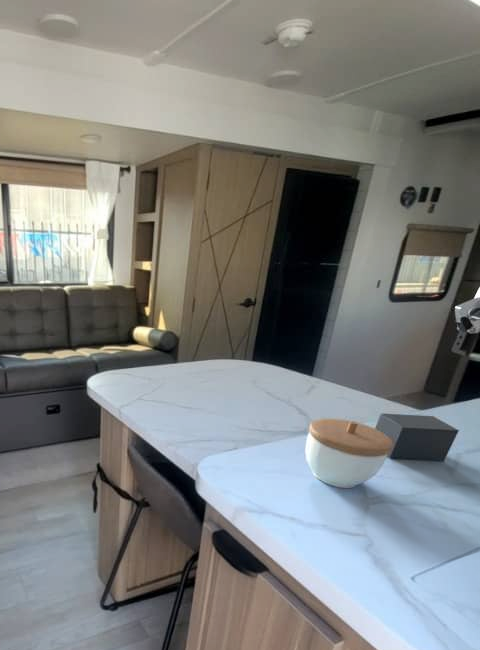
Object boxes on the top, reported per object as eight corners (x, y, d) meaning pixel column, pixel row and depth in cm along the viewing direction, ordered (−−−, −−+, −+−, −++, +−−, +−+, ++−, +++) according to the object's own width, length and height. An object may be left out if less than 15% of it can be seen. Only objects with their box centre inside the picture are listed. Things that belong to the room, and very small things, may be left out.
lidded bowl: (391, 490, 71) (416, 434, 66) (337, 502, 67) (360, 443, 62) (331, 456, 81) (349, 405, 77) (282, 464, 77) (297, 411, 72)
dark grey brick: (419, 445, 88) (432, 416, 85) (444, 461, 82) (459, 430, 79) (369, 442, 88) (380, 413, 85) (389, 458, 82) (402, 427, 79)
